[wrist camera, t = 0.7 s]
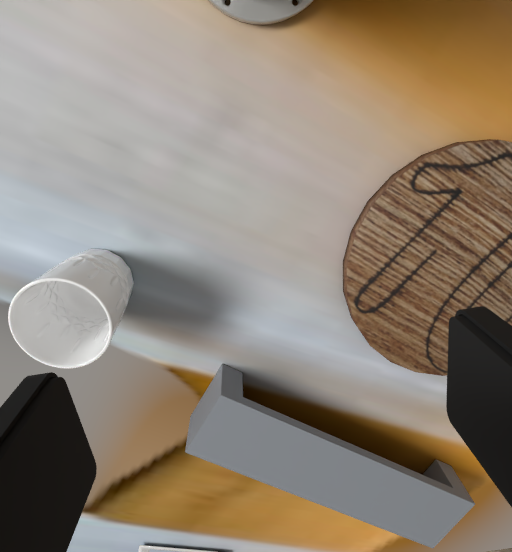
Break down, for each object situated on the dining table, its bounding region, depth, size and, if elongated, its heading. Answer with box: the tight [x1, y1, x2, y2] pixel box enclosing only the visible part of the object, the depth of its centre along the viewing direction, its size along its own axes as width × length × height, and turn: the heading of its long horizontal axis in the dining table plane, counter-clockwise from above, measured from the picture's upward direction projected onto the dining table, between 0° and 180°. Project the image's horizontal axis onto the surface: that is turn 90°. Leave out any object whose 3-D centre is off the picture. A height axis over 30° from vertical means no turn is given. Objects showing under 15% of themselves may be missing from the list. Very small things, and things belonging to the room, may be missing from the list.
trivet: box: [343, 140, 512, 376], centre depth 42 cm, size 25×25×2 cm
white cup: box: [8, 248, 134, 368], centre depth 37 cm, size 8×8×10 cm
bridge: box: [185, 364, 475, 548], centre depth 47 cm, size 8×33×6 cm, turn 61°
